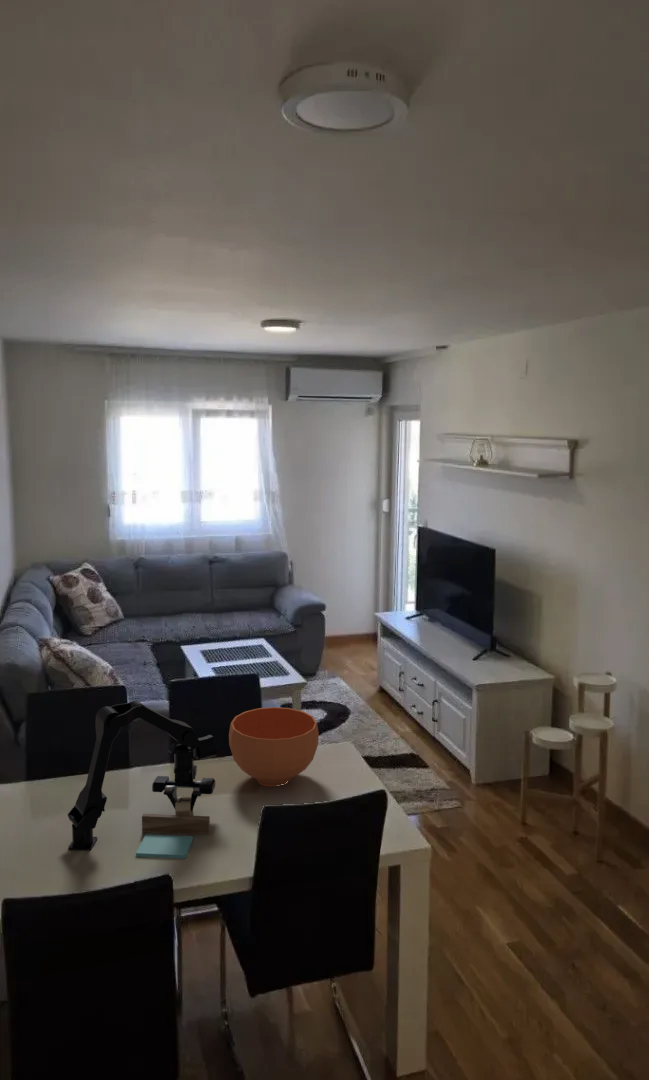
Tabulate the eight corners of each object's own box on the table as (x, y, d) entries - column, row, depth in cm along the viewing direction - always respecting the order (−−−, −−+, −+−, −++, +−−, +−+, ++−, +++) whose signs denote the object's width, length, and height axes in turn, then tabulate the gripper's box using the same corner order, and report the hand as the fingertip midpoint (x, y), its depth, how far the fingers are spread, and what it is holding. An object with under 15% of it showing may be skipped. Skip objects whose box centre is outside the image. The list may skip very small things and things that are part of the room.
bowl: (333, 773, 275) (334, 717, 272) (286, 808, 249) (286, 747, 246) (262, 754, 290) (263, 700, 287) (211, 785, 264) (211, 727, 261)
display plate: (185, 858, 220) (185, 855, 220) (136, 856, 221) (135, 853, 221) (192, 839, 230) (192, 836, 230) (145, 837, 231) (145, 834, 231)
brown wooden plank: (208, 834, 233) (208, 819, 232) (142, 831, 234) (141, 816, 233) (209, 831, 235) (209, 816, 234) (143, 829, 236) (143, 813, 235)
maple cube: (189, 817, 243) (189, 803, 242) (175, 817, 243) (175, 803, 242) (193, 810, 247) (192, 796, 247) (178, 809, 247) (178, 796, 247)
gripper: (218, 753, 250) (218, 799, 252) (160, 751, 251) (161, 797, 253) (211, 768, 239) (212, 816, 241) (151, 766, 240) (152, 814, 242)
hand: (184, 810), depth 245 cm, fingers closed on maple cube, 4 cm apart
